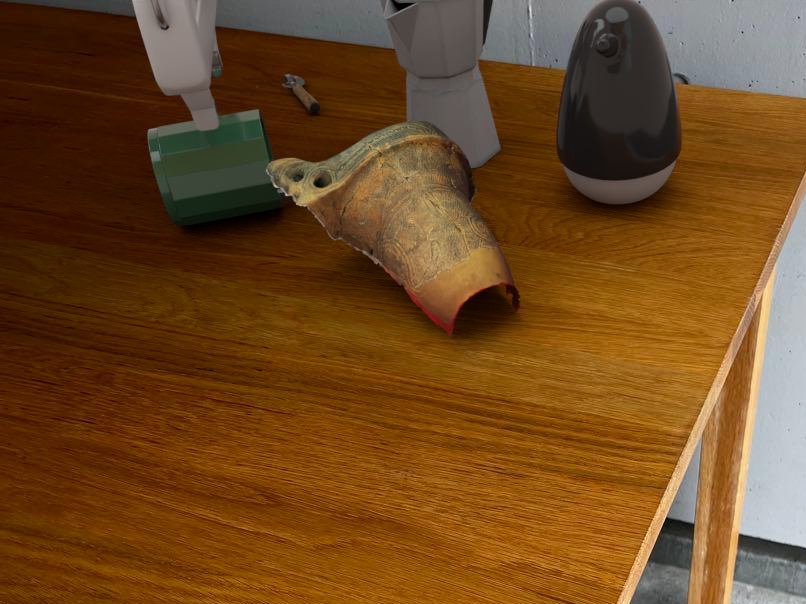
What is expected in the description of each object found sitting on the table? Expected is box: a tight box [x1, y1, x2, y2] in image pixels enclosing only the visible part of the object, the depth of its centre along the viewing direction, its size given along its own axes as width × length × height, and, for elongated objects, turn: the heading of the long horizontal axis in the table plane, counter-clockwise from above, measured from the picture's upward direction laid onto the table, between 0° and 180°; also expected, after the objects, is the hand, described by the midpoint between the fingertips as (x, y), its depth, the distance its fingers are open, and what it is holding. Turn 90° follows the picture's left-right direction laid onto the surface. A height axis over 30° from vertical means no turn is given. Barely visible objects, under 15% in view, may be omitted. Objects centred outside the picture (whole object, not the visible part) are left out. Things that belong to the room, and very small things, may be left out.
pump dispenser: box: [555, 0, 683, 205], centre depth 83 cm, size 10×10×15 cm
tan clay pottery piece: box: [266, 121, 522, 338], centre depth 79 cm, size 17×11×18 cm
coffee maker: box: [379, 0, 502, 169], centre depth 89 cm, size 15×9×18 cm, turn 148°
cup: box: [147, 108, 285, 227], centre depth 88 cm, size 8×8×9 cm
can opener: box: [281, 73, 321, 114], centre depth 104 cm, size 9×2×1 cm, turn 22°
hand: (211, 99), depth 86 cm, fingers open, 8 cm apart
